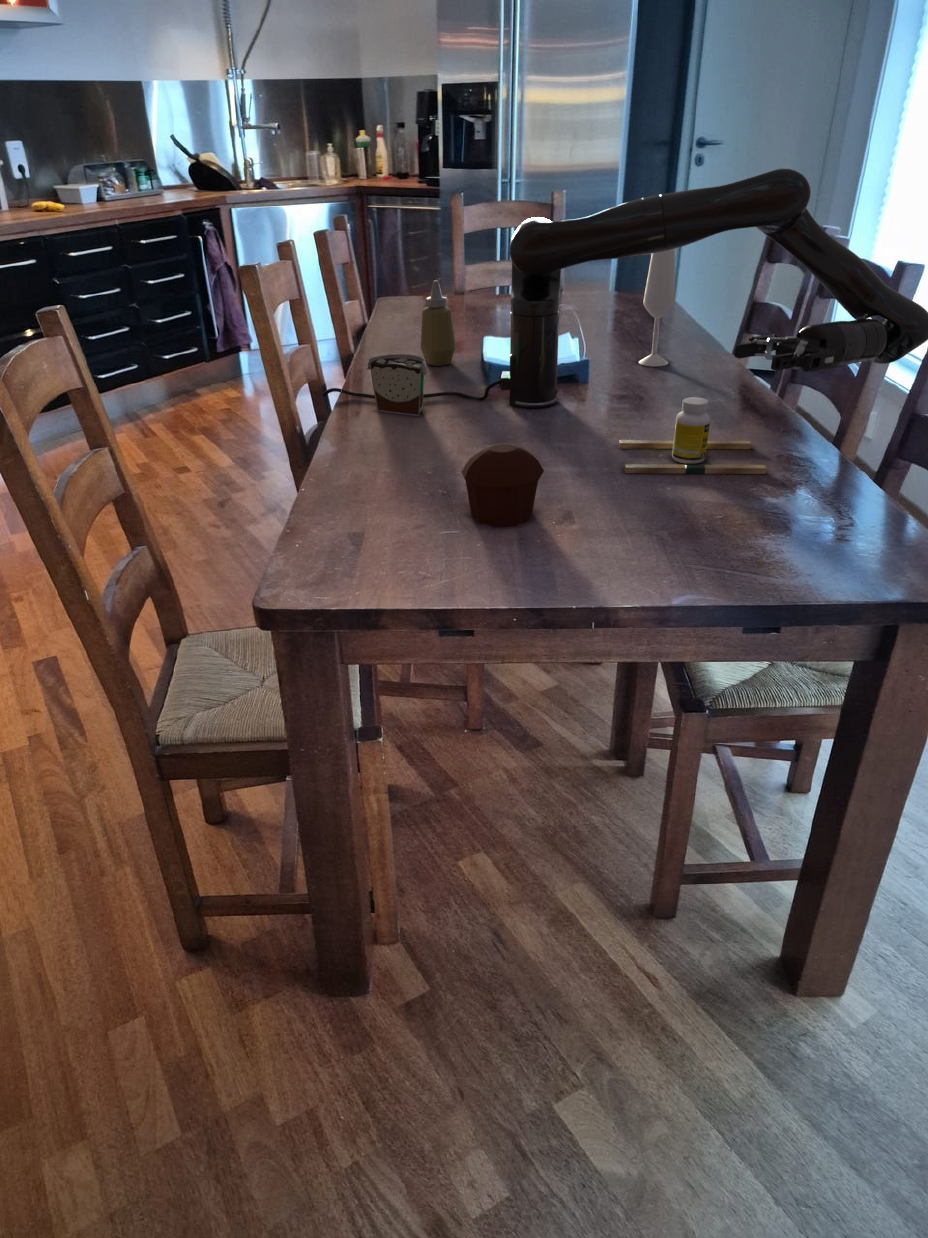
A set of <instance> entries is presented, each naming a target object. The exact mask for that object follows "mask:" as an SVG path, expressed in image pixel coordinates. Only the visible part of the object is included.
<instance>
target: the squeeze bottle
mask: <svg viewBox="0 0 928 1238" xmlns="http://www.w3.org/2000/svg"><path fill="white" fill-rule="evenodd" d="M425 306H426V307H424V309H423V310H422V311H421V329H420V330H421V331H420V334H421V335H420V350H421V353H422V356H423V359H424V361H425V363H426V365H429V366H435V367H439V366H446V365H450V364H451V363H452V361H453V359H454V355H455V351H456V348H457V345H456V338H455V330H454V321H453V313H452V309H451V308H450V307H448V297H446V296H443V294H442V290H441V286H440V281H439V280H437V279H435V280H432V285H431V292H430V296H428V297H426V298H425Z"/></svg>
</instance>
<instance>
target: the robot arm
mask: <svg viewBox="0 0 928 1238" xmlns="http://www.w3.org/2000/svg"><path fill="white" fill-rule="evenodd" d="M810 200H811V186H810V183H809V181H808V178H806V177H805V175H803V173H801V172H799V171H798V170H795V169H792V168H777V169H773V170H769V171H767V172H763V173H761V174H757V175H755V176H751V177H747V178H745V179H741V180H738V181H734V182H731V183H727V184H723V185H717V186H712V187H711V186H710V187H702V188H693V189H688V190H681V191H675V192H668V193H662V194H661V193H660V194H657V195H652V196H647V197H642V198H638V199H633V200H630V201H627V202H624V203H621V204H618V205H615V206H612V207H610V208H606V209H604V210H602V211H599V212H597V213H594V214H592V215H589V216H584V217H581V218H575V219H566V220H560V221H559V220H557V221H551V220H550V219H547V218H545V217H539V216H538V217H531V218H527V219H526V220H524V221H523V222H521V224H519V225H518V227H517V228H516V230H515V231H514V233H513V235H512V237H511V240H510V243H509V251H508V252H509V258H510V261H511V288H510V307H509V309H510V310H509V311H510V328H509V329H510V339H509V341H510V343H509V347H510V348H509V351H510V352H509V371H508V370H502V371H501V375H500V379H498V380H495V381H493V382H491V383H489V385H487V386H486V388H485V389H484V394H483V395H481V396H479V397H478V396H477V397H476V396H471V395H468V394H466V393H463V392H459V391H442V392H441V391H440V392H432V393H423V399H427V398H428V399H429V398H436V397H446V396H448V397H449V396H450V397H451V396H453V397H454V396H455V397H461V398H464V399H469V400H473V401H474V400H475V401H484V400H486V399H487V398H488V396H489V392H490V390H491V389H492V388H493V387H495V386H498V385H500V391H509V406H514V407H520V408H526V409H529V408H530V409H538V408H546V407H550V406H553V405H555V404H556V403H557V402H558V395H559V388H558V363H559V362H558V360H559V334H560V333H559V329H560V328H559V327H560V326H559V325H560V306H561V305H560V304H561V302H560V301H561V282H562V281H561V280H562V279H561V278H562V277H561V276H562V269H566V268H570V267H573V266H577V265H581V264H585V263H589V262H594V261H595V262H596V261H606V260H616V259H624V258H631V257H640V256H647V255H651V254H652V253H658V252H663V251H668V250H672V249H675V250H676V249H679V248H682V247H686V246H688V245H691V244H695V243H698V242H699V241H702V240H705V239H707V238H710V237H712V236H714V235H718V234H720V233H724V232H728V231H734V230H741V229H747V228H749V229H751V228H756V229H757V230H759V231H760V232H761V233H762V234H764V235H765V236H767V237H768V238H769V239H771V240H772V241H774V242H775V243H776V244H777V245H778V246H780V247H782V248H783V249H784V250H785V251H786V252H788V253H789V255H791V256H792V257H794V258H795V259H796V260H797V261H798V262H799V263H800V264H802V266H803V267H805V268H806V270H808V271H809V272H810V274H812V275H813V277H814V278H816V280H817V281H818V282H819V283H820V285H822V286H823V287H824V288H825V289H826V291H827V292H828V293H829V294H830V295H831V296H832V297H833V298H834V299H835V301H837V302H838V303H839V305H840V306H841V307H842V308H843V309H844V310H845V311H846V313H848V314H849V315H850V316H851V317H852V318H853V320H835V321H829V322H823V323H816V324H809V325H806V326H804V327H803V328H802V329H800V330H799V331H798V333H796V335H786V336H785V337H783V336H781V337H780V335H779V334H777V333H773V334H766V335H765V334H763V335H755V336H750V337H748V340H747V342H743V343H738V344H736V346H735V349H734V350H735V351H734V358H736V359H744V358H751V357H763V358H765V359H766V360H767V361H768V360H769V361H771V364H770V369H771V370H773V371H781V370H788V369H792V370H796V371H797V370H800V369H801V370H802V371H803V372H805V373H813V372H814V373H815V372H818V371H819V372H820V371H826V370H832V369H838V368H842V367H843V368H844V367H846V366H848V365H851V364H857V363H858V364H859V363H864V362H867V363H874V364H879V365H888V364H892V363H894V362H896V361H897V362H898V361H899V360H900V359H902V358H904V357H906V355H908V354H909V353H911V352H912V351H914V350H916V349H917V348H919V347H920V346H922V345H923V344H924V343H926V342H928V310H927V309H925V308H924V307H923V306H921V305H920V304H919V303H917V302H916V301H914V300H912V299H910V298H908V297H907V296H905V295H903V294H902V293H900V292H899V291H897V290H895V289H893V288H891V287H890V286H888V285H887V284H886V283H885V282H884V281H883V280H882V279H881V278H880V276H878V275H877V273H876V272H875V271H874V270H873V269H872V268H871V267H870V266H869V265H868V264H867V263H866V262H865V260H863V259H862V258H861V257H860V256H858V255H857V254H856V253H855V252H853V251H852V250H850V249H849V248H848V247H846V246H844V245H843V244H842V243H840V242H839V241H838V240H837V239H835V238H834V237H833V236H831V235H830V234H829V233H828V232H827V231H826V230H824V228H822V226H821V225H820V224H819V223H818V222H817V221H816V220H815V218H814V217H813V216H812V214H811V213H810V212H809V210H808V205H809V204H810V203H809V202H810ZM877 316H878V317H880V318H881V319H884V321H883V322H881V321H880V320H878V319H875V318H873V317H877ZM773 351H774V354H772V352H773ZM341 390H342V392H341ZM334 392H335V393H341V394H345V395H348V396H352V397H360V398H361V397H362V398H366V399H372V400H375V395H374V394H370V393H364V392H355V391H350V390H348V389H347V390H346V389H343V388H339V387H330V388H328V389H326V390H325V391H323V393H322V394H321V396H323V397H325V396H328V395H329V394H330V393H334Z"/></svg>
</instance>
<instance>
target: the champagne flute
mask: <svg viewBox="0 0 928 1238" xmlns="http://www.w3.org/2000/svg"><path fill="white" fill-rule="evenodd" d="M644 290H645V291H644V294H643V295H644V296H643V302H642V303H643V306H644V308H645V310H646V311H647V313H648V314H649V315H650V316H651V317H653V318H654V322H653V323H654V324H653V332H652V333H653V334H652V344H651V345H652V346H651V353H650V354H649V355H647V356H645V357H644V358H642V359H640V360H638V364H640V365H642V366H646V367H664V366H667V365H669V362H668V360H666V359H664V357H662V356H660V355H659V354H658V346H659V335H660V324H661V319H662V318H663V317H665V316H666V315H667V314H668V313H669V312H670V311H671V310H672V309H673V307H674V305H675V303H676V302H675V301H676V299H675V298H676V249H672V250H668V251H663V252H658V253H652V254H650V261H649V267H648V273H647V279H646V285H645V289H644Z"/></svg>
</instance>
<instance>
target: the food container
mask: <svg viewBox="0 0 928 1238" xmlns="http://www.w3.org/2000/svg"><path fill="white" fill-rule="evenodd" d="M366 370H367V371H369V370H370V376H371V382H372V389H373V395H375V399H374V400H375V406H376V412H382V413H388V414H396V415H404V416H411V417H412V416H413V417H421V416H422V415H423V411H424V410H423V409H424V398H423V394H424V393H425V392H424V391H425V389H424V388H425V376H426V375H427V374H428V373H429V371H428V366H427V363H426V361H425V359H424V357H422V356H419V355H415V354H406V353H405V354H404V353H394V354H393V353H392V354H384V355H378V356H373V357H370V358H369V359H368V362H367V368H366Z"/></svg>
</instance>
